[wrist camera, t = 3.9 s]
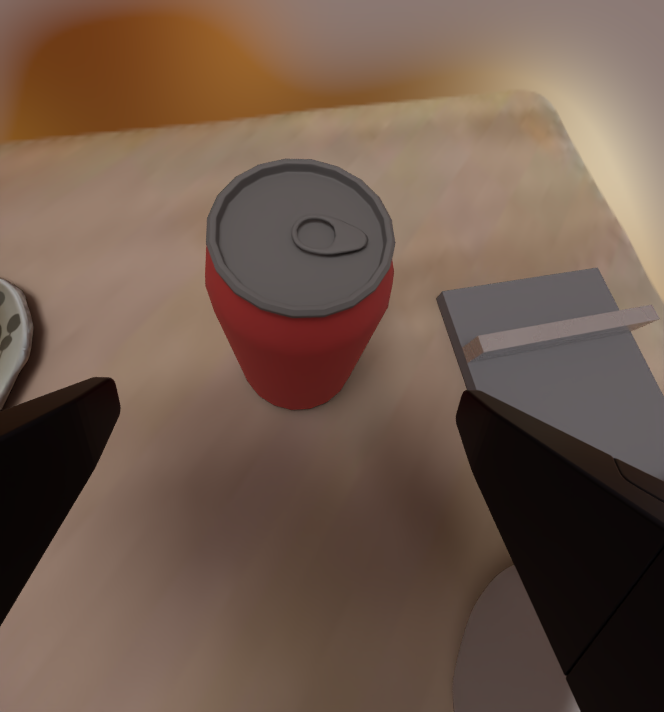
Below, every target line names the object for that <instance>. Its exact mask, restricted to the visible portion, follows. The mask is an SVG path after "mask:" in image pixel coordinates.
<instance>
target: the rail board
mask: <svg viewBox="0 0 664 712" xmlns="http://www.w3.org/2000/svg"><path fill="white" fill-rule="evenodd" d="M436 299H437V302H438V305H439V308H440V311H441V314H442V317H443V320H444V323H445V326H446V328H447V331H448V334H449V337H450V340H451V343H452V346H453V349H454V352H455V355H456V358H457V361H458V363H459V366H460V369H461V372H462V375H463V378H464V381H465V384H466V387H467V390H480V391H483V392H485V393H487V394H489V395H491V396H493V397H495V398H497V399H499V400H501V401H503V402H505V403H507V404H509V405H511V406H513V407H515V408H517V409H519V410H521V411H523V412H525V413H527V414H529V415H531V416H533V417H535V418H537V419H539V420H541V421H543V422H545V423H547V424H549V425H551V426H553V427H555V428H557V429H559V430H561V431H563V432H565V433H567V434H569V435H571V436H573V437H575V438H577V439H579V440H581V441H583V442H585V443H587V444H589V445H591V446H593V447H595V448H597V449H599V450H601V451H603V452H605V453H607V454H609V455H611V456H612V457H613V458H617V459H619V460H621V461H623V462H625V463H627V464H629V465H631V466H633V467H636V468H638V469H640V470H642V471H644V472H646V473H648V474H650V475H652V476H654V477H656V478H658V479H660V480H662V481H664V396H663V394H662V392H661V390H660V388H659V386H658V384H657V382H656V381H655V379H654V377H653V375H652V373H651V371H650V369H649V367H648V365H647V363H646V361H645V359H644V357H643V355H642V353H641V351H640V349H639V347H638V345H637V343H636V341H635V340H634V338H633V336H632V334H631V331H633V330H636V329H638V328H640V327H643V326H645V325H647V324H650V323H652V322H654V321H657V320H659V319H660V318H659V317H658V315H657V313H656V311H655V309H654V307H653V306H652V305H647V306H642V307H636V308H630V309H625V310H619V308H618V306H617V304H616V302H615V300H614V298H613V297H612V295H611V293H610V291H609V289H608V287H607V285H606V283H605V281H604V279H603V277H602V275H601V273H600V271H599V269H598V268H592V269H585V270H579V271H572V272H566V273H559V274H553V275H546V276H540V277H533V278H526V279H520V280H513V281H507V282H500V283H494V284H487V285H481V286H474V287H468V288H461V289H455V290H448V291H442V292H441V293H440V295H439V296H438V297H437V298H436Z"/></svg>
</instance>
